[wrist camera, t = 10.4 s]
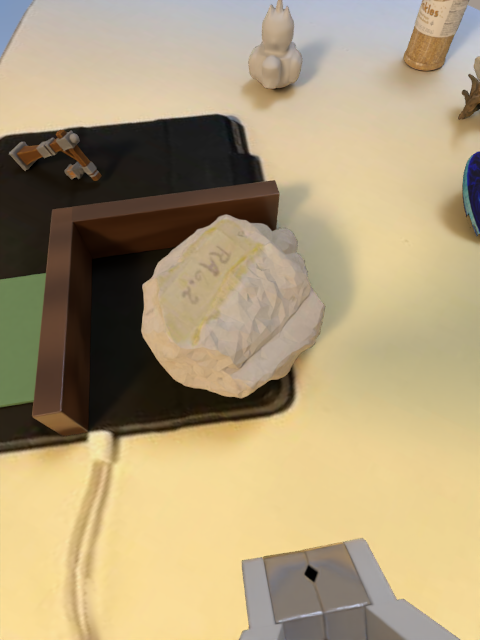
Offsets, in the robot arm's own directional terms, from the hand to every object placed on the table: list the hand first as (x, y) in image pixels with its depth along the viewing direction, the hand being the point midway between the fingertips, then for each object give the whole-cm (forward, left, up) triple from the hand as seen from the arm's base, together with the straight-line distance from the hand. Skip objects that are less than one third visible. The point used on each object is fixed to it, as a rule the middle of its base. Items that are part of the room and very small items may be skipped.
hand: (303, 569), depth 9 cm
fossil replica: (+12, +7, -12) cm, 18 cm away
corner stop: (+12, +11, -12) cm, 20 cm away
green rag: (+6, +20, -12) cm, 24 cm away
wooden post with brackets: (+21, +28, -12) cm, 37 cm away
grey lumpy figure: (+41, +15, -12) cm, 45 cm away
